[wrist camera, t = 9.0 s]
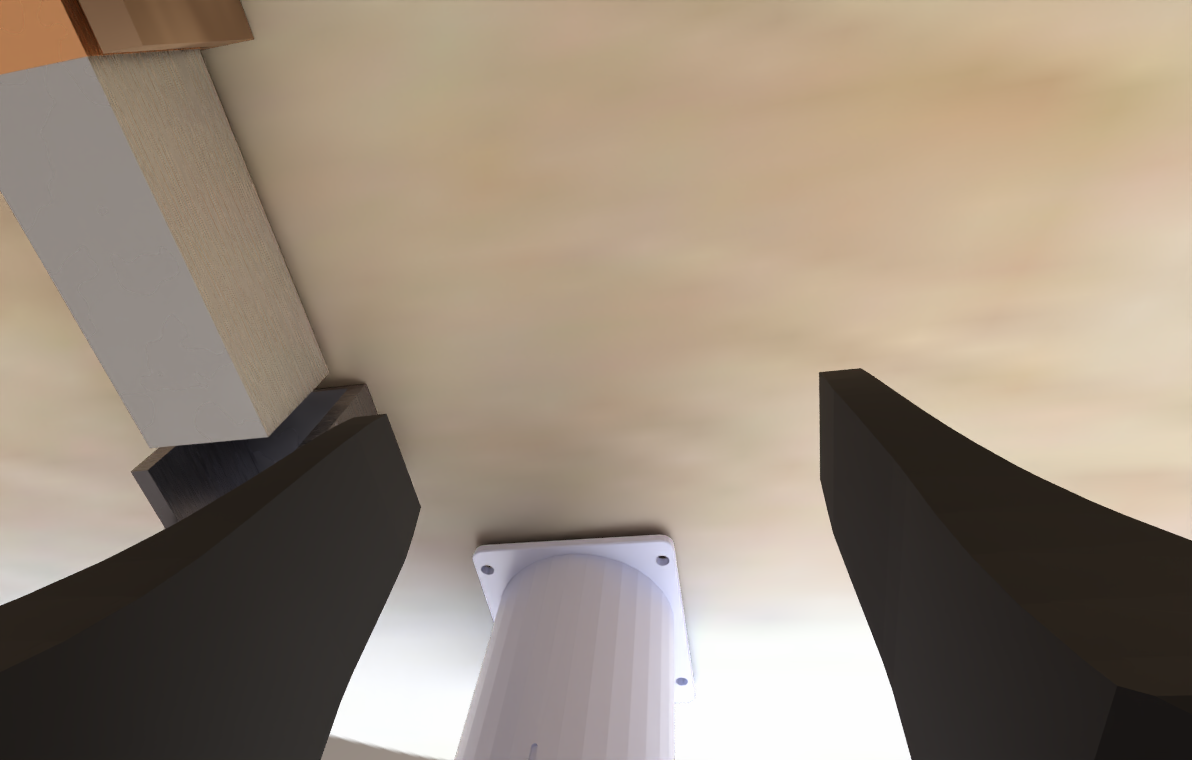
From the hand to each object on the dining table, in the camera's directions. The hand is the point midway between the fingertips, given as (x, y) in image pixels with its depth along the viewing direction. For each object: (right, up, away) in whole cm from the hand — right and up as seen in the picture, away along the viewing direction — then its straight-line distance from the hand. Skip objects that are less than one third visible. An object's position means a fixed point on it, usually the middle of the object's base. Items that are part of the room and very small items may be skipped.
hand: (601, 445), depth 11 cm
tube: (-12, +7, +10) cm, 17 cm away
